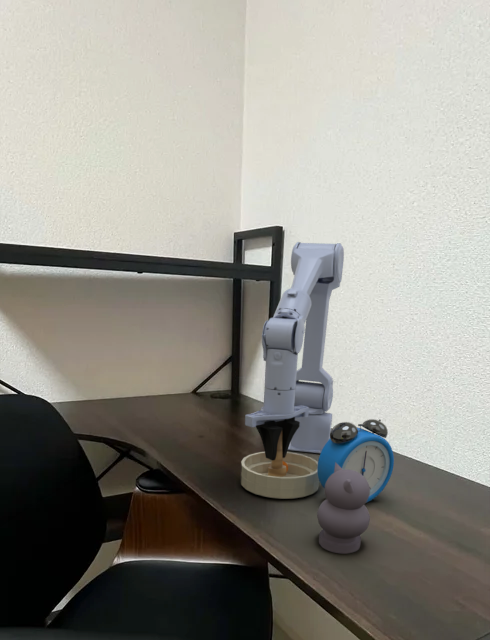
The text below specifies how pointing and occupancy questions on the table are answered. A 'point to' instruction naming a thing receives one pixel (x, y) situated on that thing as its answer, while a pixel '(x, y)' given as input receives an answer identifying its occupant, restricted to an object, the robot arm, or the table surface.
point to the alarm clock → (359, 454)
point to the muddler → (278, 462)
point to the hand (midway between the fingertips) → (275, 457)
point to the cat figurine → (344, 511)
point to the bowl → (293, 485)
